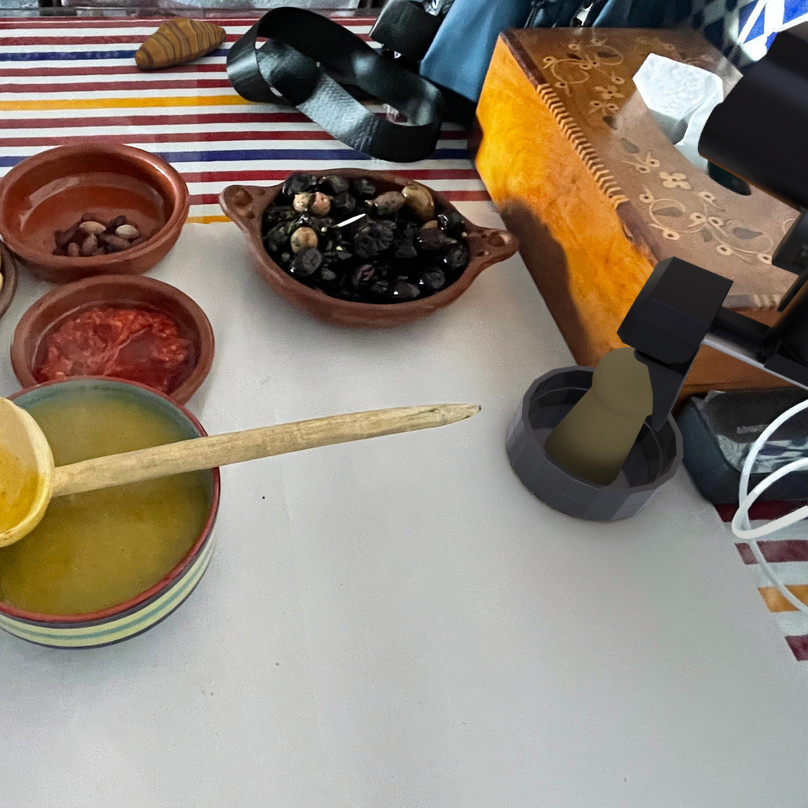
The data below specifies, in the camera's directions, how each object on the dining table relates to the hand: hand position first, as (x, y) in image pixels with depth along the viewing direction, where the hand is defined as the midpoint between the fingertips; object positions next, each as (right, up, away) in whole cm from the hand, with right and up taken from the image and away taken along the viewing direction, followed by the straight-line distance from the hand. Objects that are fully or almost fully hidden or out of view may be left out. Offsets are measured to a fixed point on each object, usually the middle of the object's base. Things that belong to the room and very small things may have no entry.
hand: (730, 462), depth 46 cm
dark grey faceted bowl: (-3, -1, +15) cm, 15 cm away
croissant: (-39, +48, +51) cm, 80 cm away
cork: (-3, -1, +15) cm, 15 cm away
